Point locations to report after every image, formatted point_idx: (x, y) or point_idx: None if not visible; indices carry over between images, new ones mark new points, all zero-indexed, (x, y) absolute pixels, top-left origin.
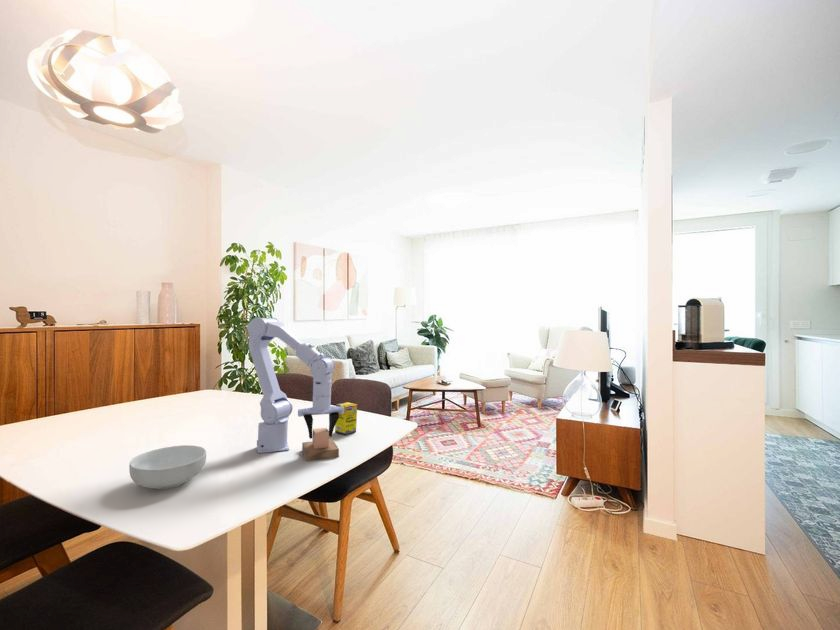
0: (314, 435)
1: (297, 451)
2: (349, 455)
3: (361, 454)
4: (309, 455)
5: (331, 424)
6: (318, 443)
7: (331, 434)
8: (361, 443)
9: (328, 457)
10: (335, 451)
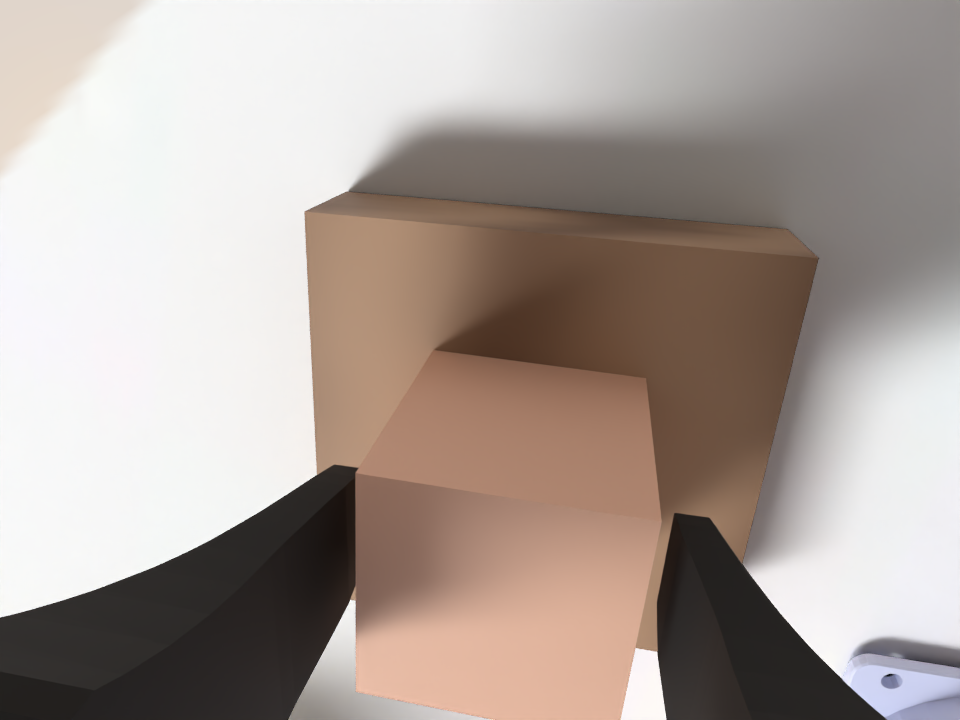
0: (656, 497)
1: (769, 579)
2: (209, 186)
3: (64, 158)
4: (753, 242)
5: (239, 584)
6: (579, 401)
7: (324, 477)
8: (43, 496)
9: (478, 203)
10: (364, 208)
